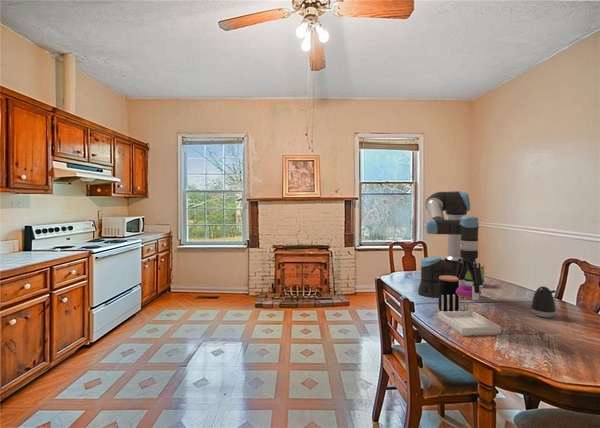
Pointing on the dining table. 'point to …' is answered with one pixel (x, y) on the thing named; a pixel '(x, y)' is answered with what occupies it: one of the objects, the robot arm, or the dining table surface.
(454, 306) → the rack tines
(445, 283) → the coffee jar
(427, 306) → the dining table surface
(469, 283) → the tea box
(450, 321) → the tray
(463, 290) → the donut
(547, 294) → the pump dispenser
